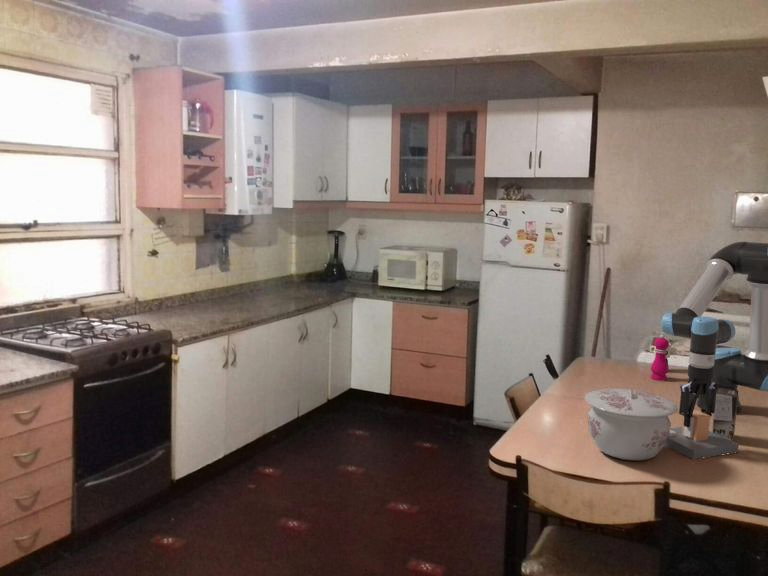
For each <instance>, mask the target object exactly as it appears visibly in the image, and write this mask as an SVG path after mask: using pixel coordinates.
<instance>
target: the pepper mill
mask: <svg viewBox="0 0 768 576" xmlns="http://www.w3.org/2000/svg"><path fill="white" fill-rule="evenodd" d="M669 343H670V342H669V340H668V339H666V338H665V335H664V334H660V336H659V337H658V338H656V339H655V340H654V344H653V346H655V347H656V348H655V352H656V356H655V355H654V357H655V358H654V360H653V361H652V364H651V365H650V371H651V375H650V378H651V379H652V380H653V379H654V381H658V380H661V382H663V381H662V380H665V381H666V380H667V374H668V373H669V364H668V365H667V363H666V359H665V358H666V353H667V348H668V347H669Z"/></svg>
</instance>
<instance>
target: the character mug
mask: <svg viewBox="0 0 768 576" xmlns="http://www.w3.org/2000/svg"><path fill="white" fill-rule="evenodd" d="M655 348H656V347H655V345H650V346H649V352H650V353H651V354H652V353H653V356H654V357H655V356H656V352H655ZM671 351H672V352H671ZM671 356H676V348H675V347H672V343H670V342H669V347H668V348H667V353H666V358H665V359H666V363H667V365H668V366H669V358H671Z"/></svg>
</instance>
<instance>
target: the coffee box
mask: <svg viewBox="0 0 768 576" xmlns="http://www.w3.org/2000/svg"><path fill="white" fill-rule="evenodd" d="M738 396H739V390H738V389H737V390H733V389H724V388H718V390H717V392H716V402H715V412H714V413H713V419H712V420H713V422H712V431H711V432H712V433H714V434H717V435H719V436H721V437H723V438H726V439H728V440H730V441H733V440H734V436H735V430H736V421H737V420H736V419H737V413H736V412H737V401H738ZM733 442H734V441H733Z"/></svg>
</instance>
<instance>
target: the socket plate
mask: <svg viewBox="0 0 768 576" xmlns="http://www.w3.org/2000/svg"><path fill="white" fill-rule="evenodd" d="M739 445H740V444H739V443H737V442H736V441H730V440H728V439H726V438H723V437H721V436H719V435H717V434H714V433H712V431H709V433H708V440H702V441H694V440H692V439H688V438H687V437H685V436H683V435H682V426H679V427H671V429H670V434H669V437H668V440H667V443H666V444H665V445H664V446H665V447H667V448H668V449H671V450H673V451H674V452H677V453H679V454H681V455H683V456H685V457H687V458H689V459H690V460H693V459H694V460H698V459H697V458H701V459H704V458H703V457H708V458H710V457H709V456H715V457H717V456H716V455H722V454H727V453H735V452H738V453H739ZM735 454H736V453H735ZM722 456H723V455H722Z"/></svg>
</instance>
